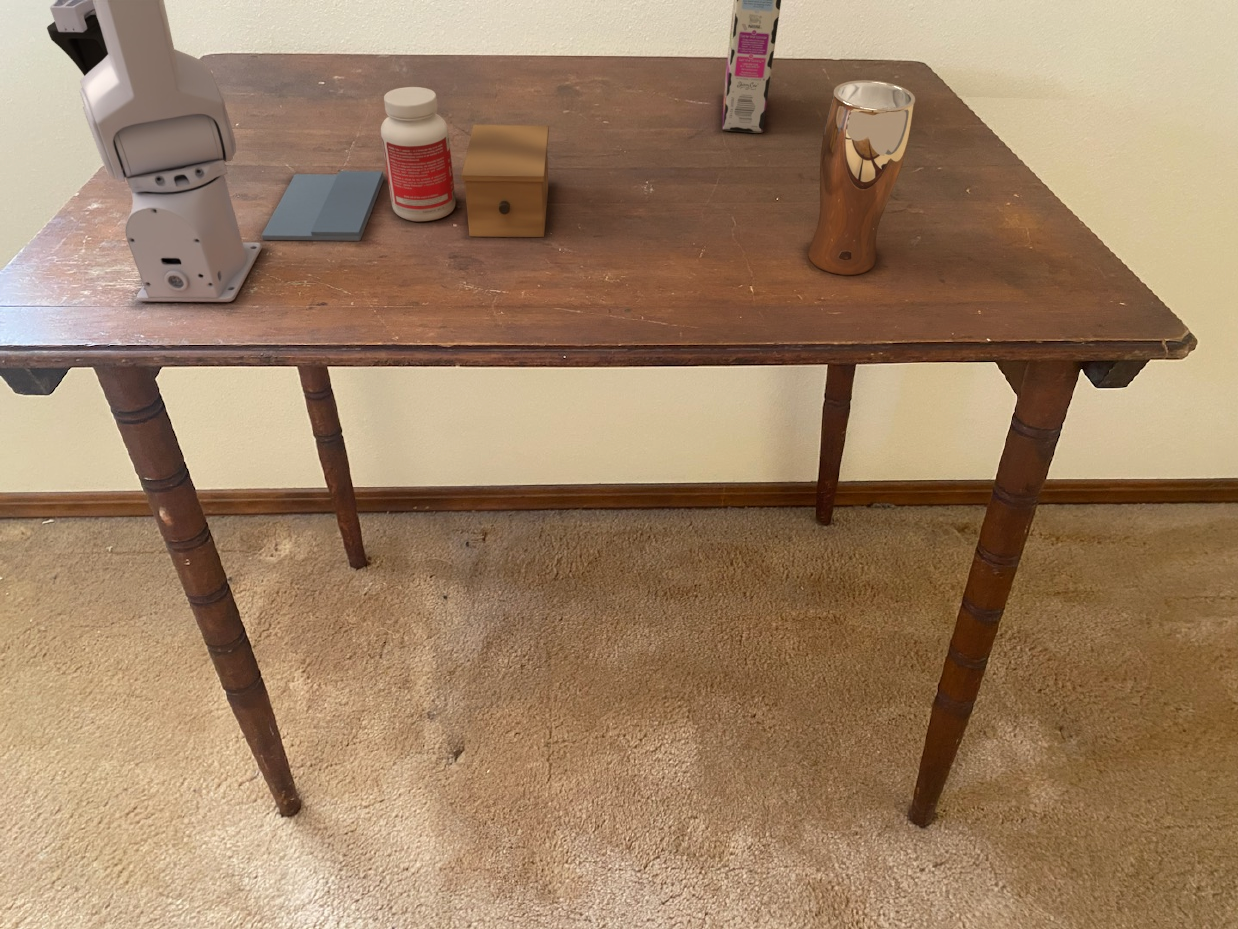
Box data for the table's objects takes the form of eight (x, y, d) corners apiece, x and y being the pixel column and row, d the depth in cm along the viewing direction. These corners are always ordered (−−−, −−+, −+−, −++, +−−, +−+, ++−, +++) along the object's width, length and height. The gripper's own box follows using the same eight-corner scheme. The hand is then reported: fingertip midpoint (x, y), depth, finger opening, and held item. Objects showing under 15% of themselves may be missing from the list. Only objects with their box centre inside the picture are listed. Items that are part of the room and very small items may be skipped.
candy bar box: (765, 134, 107) (785, -22, 96) (721, 132, 107) (737, -25, 96) (763, 98, 115) (781, -50, 104) (722, 96, 115) (737, -52, 104)
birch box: (545, 241, 87) (543, 178, 83) (466, 240, 87) (460, 177, 83) (550, 184, 96) (548, 125, 92) (478, 183, 96) (473, 124, 92)
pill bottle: (467, 213, 91) (456, 99, 83) (408, 229, 88) (392, 113, 81) (439, 189, 95) (426, 78, 87) (382, 203, 92) (364, 90, 85)
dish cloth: (360, 240, 86) (358, 232, 86) (262, 240, 86) (260, 231, 86) (383, 179, 96) (382, 170, 95) (295, 178, 96) (294, 169, 95)
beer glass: (788, 258, 86) (814, 93, 76) (830, 232, 89) (860, 72, 79) (853, 286, 82) (889, 117, 72) (893, 258, 86) (933, 94, 76)
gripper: (93, -55, 71) (149, 122, 80) (159, -97, 82) (202, 63, 91) (-2, -56, 71) (66, 121, 80) (77, -98, 81) (129, 62, 90)
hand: (133, 90), depth 85 cm, fingers open, 7 cm apart
